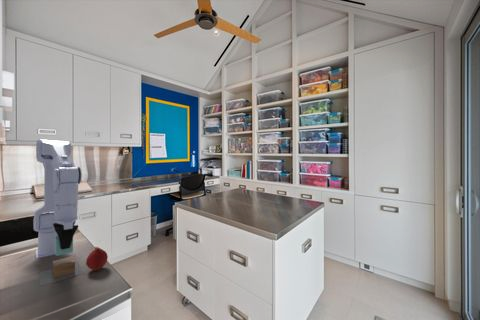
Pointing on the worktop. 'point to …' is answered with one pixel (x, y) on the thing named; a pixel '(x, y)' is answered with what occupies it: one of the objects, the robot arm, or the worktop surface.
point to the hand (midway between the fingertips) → (64, 246)
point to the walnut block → (63, 267)
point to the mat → (48, 278)
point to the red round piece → (96, 259)
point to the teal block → (63, 251)
